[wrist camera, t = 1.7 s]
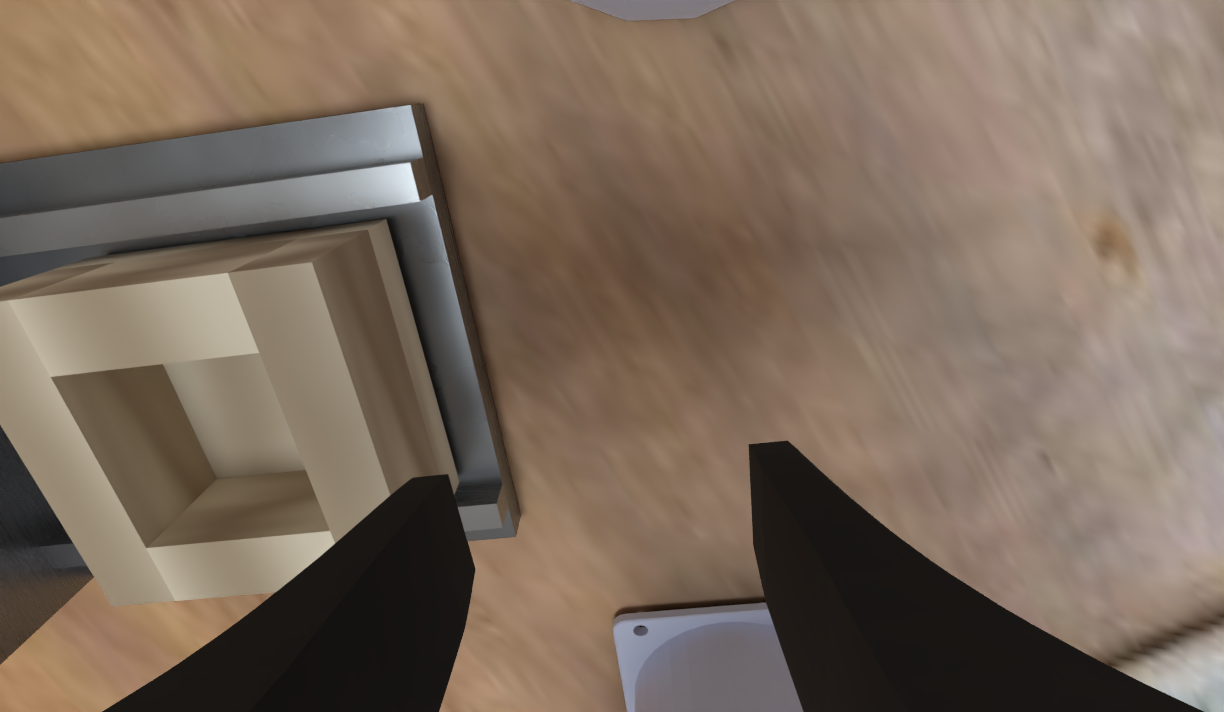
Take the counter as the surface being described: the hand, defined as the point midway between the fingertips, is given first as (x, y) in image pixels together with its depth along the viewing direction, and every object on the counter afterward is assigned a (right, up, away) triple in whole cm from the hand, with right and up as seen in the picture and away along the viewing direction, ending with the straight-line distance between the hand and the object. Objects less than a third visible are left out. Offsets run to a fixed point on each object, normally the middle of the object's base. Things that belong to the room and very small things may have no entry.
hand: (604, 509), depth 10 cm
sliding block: (-9, +2, +7) cm, 12 cm away
